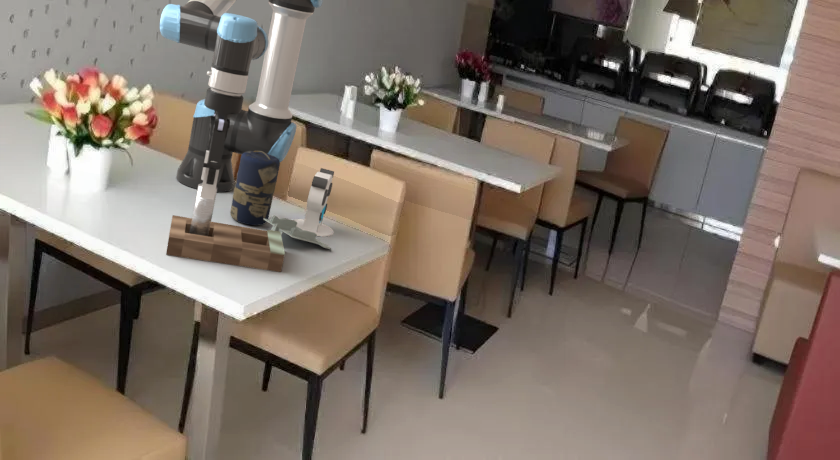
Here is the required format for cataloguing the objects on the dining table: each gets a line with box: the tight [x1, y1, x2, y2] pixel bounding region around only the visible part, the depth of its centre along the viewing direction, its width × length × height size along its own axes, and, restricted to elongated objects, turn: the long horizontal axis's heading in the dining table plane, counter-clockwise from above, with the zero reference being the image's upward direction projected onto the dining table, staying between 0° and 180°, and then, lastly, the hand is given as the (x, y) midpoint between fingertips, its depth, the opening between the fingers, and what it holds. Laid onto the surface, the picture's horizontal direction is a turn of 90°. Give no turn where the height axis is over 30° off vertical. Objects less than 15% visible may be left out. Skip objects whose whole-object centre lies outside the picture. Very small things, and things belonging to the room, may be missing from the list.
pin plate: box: [165, 214, 286, 273], centre depth 180 cm, size 14×24×4 cm, turn 104°
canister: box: [229, 151, 281, 226], centre depth 202 cm, size 10×10×18 cm
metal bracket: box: [263, 214, 332, 250], centre depth 198 cm, size 14×6×15 cm
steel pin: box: [189, 183, 218, 236], centre depth 177 cm, size 4×4×14 cm
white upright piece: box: [293, 167, 335, 238], centre depth 209 cm, size 12×11×15 cm
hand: (207, 189), depth 175 cm, fingers open, 13 cm apart
